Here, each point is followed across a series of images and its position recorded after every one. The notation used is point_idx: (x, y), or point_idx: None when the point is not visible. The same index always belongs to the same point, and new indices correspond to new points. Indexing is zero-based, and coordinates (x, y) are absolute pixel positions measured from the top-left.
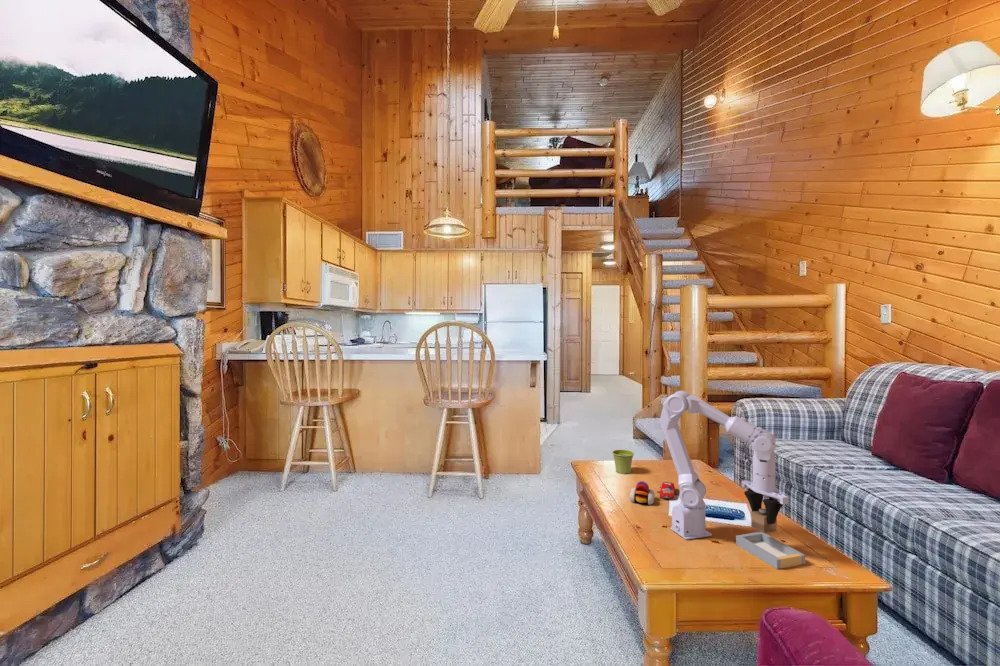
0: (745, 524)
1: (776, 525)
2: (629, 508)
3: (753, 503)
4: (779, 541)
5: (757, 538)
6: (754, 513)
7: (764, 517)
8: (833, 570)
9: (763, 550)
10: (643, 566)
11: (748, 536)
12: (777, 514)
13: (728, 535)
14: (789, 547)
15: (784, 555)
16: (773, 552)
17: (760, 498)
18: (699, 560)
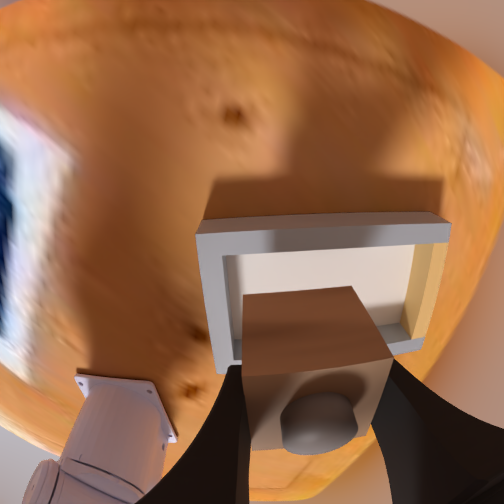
0: (50, 182)
1: (364, 308)
2: (21, 419)
3: (248, 491)
4: (326, 230)
5: (226, 273)
6: (281, 445)
7: (365, 432)
8: (478, 151)
9: None
10: (271, 497)
11: (230, 331)
12: (428, 389)
13: (145, 328)
14: (389, 232)
15: (370, 247)
16: (336, 273)
17: (239, 499)
18: (284, 453)
